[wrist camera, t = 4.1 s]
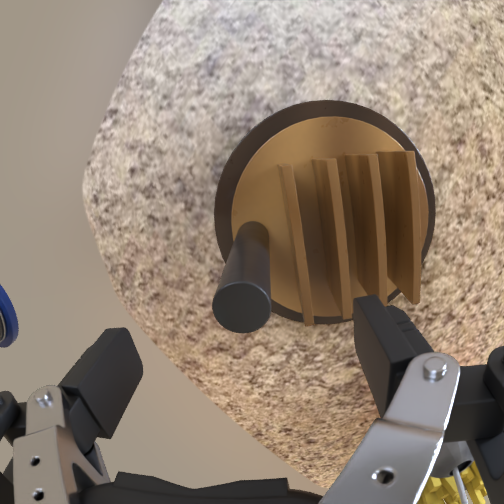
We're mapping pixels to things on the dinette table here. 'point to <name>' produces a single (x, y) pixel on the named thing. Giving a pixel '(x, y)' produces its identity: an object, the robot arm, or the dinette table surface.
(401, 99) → the dinette table surface
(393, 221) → the plate rack
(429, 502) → the french fries container
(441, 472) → the beverage cup
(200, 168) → the dinette table surface
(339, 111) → the base
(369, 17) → the dinette table surface
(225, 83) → the dinette table surface
